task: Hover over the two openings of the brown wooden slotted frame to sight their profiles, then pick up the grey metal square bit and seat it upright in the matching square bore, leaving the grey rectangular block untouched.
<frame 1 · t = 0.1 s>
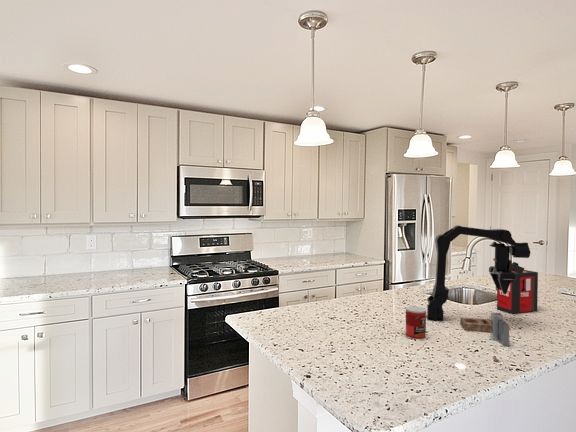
hand: (501, 291, 163), 15 cm above the worktop, fingers open, 9 cm apart
square bit: (496, 338, 144), on the worktop
canned food: (415, 336, 147), on the worktop
cleaning product box: (516, 311, 184), on the worktop
grey rectangular block: (503, 343, 139), on the worktop
brown wooden slotted frame: (477, 328, 156), on the worktop
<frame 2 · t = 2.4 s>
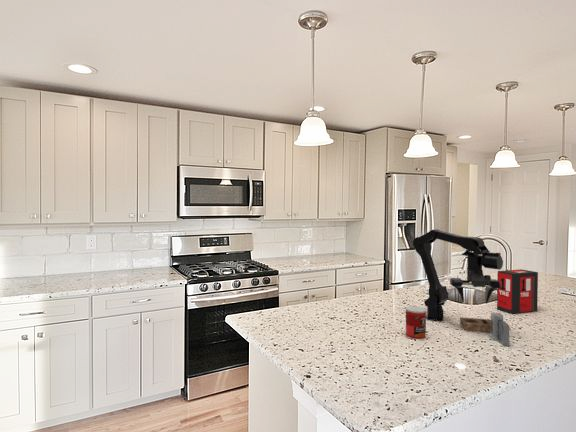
hand: (474, 302, 155), 11 cm above the worktop, fingers open, 9 cm apart
nothing on the worktop moved.
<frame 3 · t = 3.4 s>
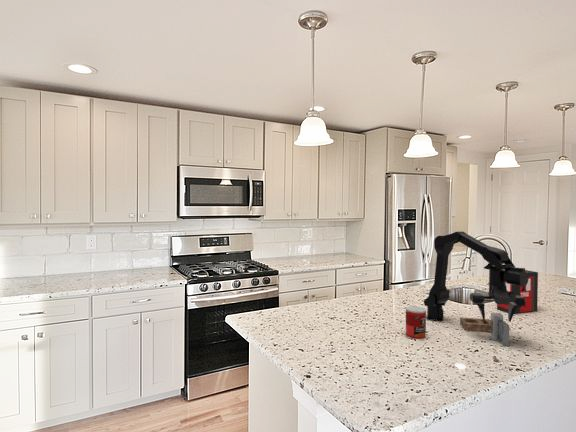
hand: (496, 320, 144), 7 cm above the worktop, fingers open, 9 cm apart
nothing on the worktop moved.
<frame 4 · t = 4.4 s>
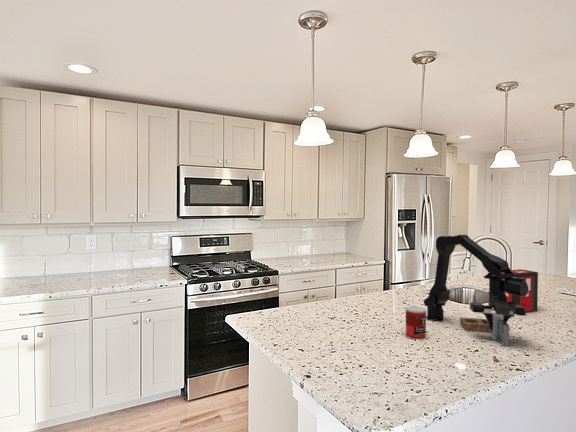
hand: (496, 330, 144), 4 cm above the worktop, fingers closed on square bit, 3 cm apart
square bit: (496, 338, 144), on the worktop, touching gripper
everything else where it was.
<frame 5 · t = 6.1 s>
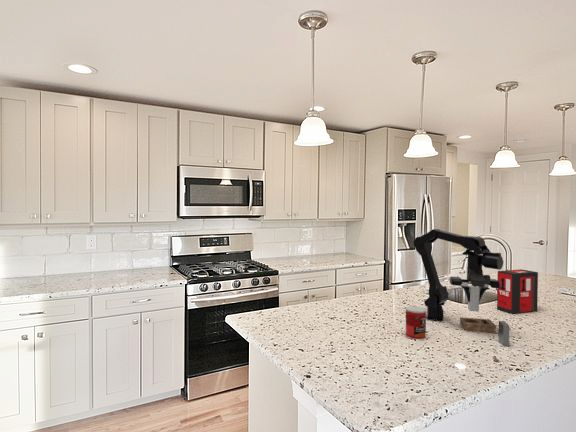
hand: (473, 302, 155), 12 cm above the worktop, fingers closed on square bit, 3 cm apart
square bit: (473, 310, 155), point 8 cm above the worktop, touching gripper
everything else where it was.
when the fingers open (4 cm above the worktop, at t = 7.9 s): square bit stays where it is, resting in brown wooden slotted frame.
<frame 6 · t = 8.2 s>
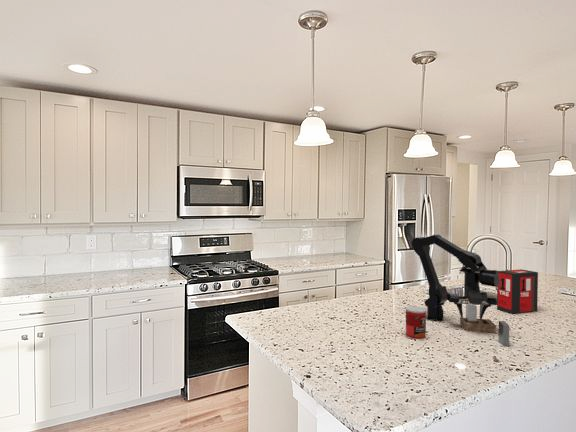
hand: (471, 318, 157), 4 cm above the worktop, fingers open, 7 cm apart
square bit: (471, 327, 157), resting in brown wooden slotted frame
everything else where it was.
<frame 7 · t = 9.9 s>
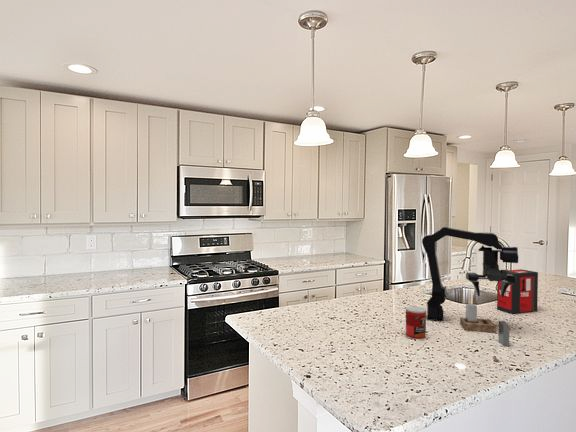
hand: (490, 297, 158), 13 cm above the worktop, fingers open, 9 cm apart
nothing on the worktop moved.
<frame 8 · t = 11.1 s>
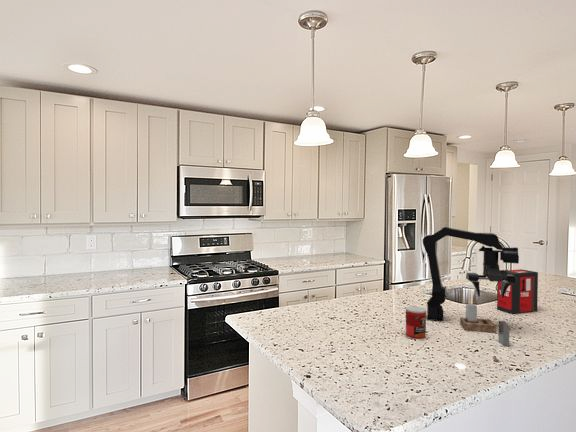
hand: (490, 297, 158), 13 cm above the worktop, fingers open, 9 cm apart
nothing on the worktop moved.
at the end: square bit 0.0 cm from the target spot on the brown wooden slotted frame, point 0.0 cm above the brown wooden slotted frame's base; square bit tilted 0°; the gripper is holding nothing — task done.
